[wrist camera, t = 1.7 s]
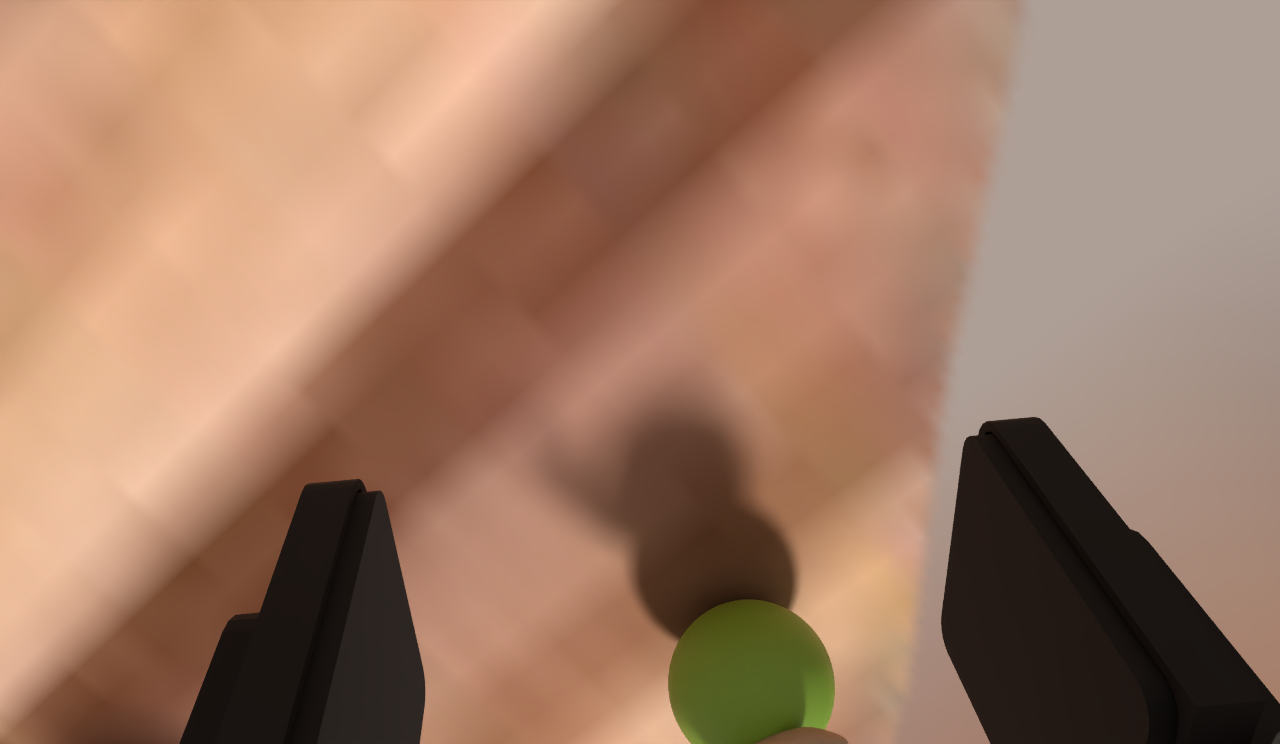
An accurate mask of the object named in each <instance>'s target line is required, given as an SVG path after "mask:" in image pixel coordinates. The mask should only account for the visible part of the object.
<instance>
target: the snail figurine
mask: <svg viewBox="0 0 1280 744" xmlns="http://www.w3.org/2000/svg"><path fill="white" fill-rule="evenodd" d="M668 690H669V698H670V703H671V707H672V711H673V714H674V716H675V719H676V721H677V723H678V725H679V727H680V729H681V730H682V732H683V734H684V735H685V737H686V738H687V739H688V740H689V742H690V743H691V744H848V741H847V740H846V739H845V738H844V737H842V736H840V735H838V734H836V733H833V732H830V731H827V730H825V728H826V726H827V724H828V722H829V719H830V716H831V713H832V709H833V704H834V696H835V682H834V674H833V669H832V665H831V661H830V658H829V656H828V653H827V651H826V649H825V647H824V645H823V643H822V641H821V640H820V638H819V637H818V635H817V634H816V633H815V632H814V630H813V629H812V628H811V627H810V626H809V625H808V624H807V623H806V622H805V621H804V620H803V619H802V618H800V617H799V616H798V615H796V614H795V613H793V612H792V611H790V610H788V609H786V608H784V607H782V606H780V605H777V604H774V603H771V602H767V601H762V600H754V599H744V600H736V601H731V602H727V603H724V604H721V605H718V606H716V607H714V608H712V609H710V610H708V611H707V612H705V613H704V614H702V615H701V616H700V617H698V618H697V619H696V620H695V621H694V622H693V623H692V624H691V625H690V626H689V627H688V629H687V630H686V631H685V632H684V634H683V635H682V637H681V638H680V640H679V642H678V644H677V646H676V648H675V651H674V653H673V656H672V660H671V664H670V669H669V677H668Z"/></svg>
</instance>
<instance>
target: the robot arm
mask: <svg viewBox="0 0 1280 744" xmlns="http://www.w3.org/2000/svg"><path fill="white" fill-rule="evenodd" d="M941 625H942V634H943V640H944V643H945V647H946V649H947V652H948V654H949V656H950V658H951V661H952V663H953V665H954V667H955V669H956V671H957V673H958V675H959V678H960V680H961V682H962V684H963V686H964V688H965V690H966V693H967V694H968V697H969V699H970V701H971V703H972V705H973V707H974V709H975V712H976V714H977V716H978V718H979V720H980V722H981V724H982V727H983V729H984V731H985V733H986V735H987V737H988V739H989V741H990V743H991V744H1280V704H1279V702H1278V701H1277V700H1276V699H1275V698H1274V696H1273V695H1272V694H1271V693H1270V691H1269V690H1268V689H1267V688H1266V686H1265V685H1264V684H1263V683H1262V682H1261V680H1260V679H1259V678H1258V676H1257V675H1256V674H1255V673H1254V672H1253V670H1252V669H1251V668H1250V667H1249V665H1248V664H1247V663H1246V662H1245V660H1244V659H1243V658H1242V657H1241V656H1240V654H1239V653H1238V652H1237V651H1236V649H1235V648H1234V647H1233V646H1232V644H1231V643H1230V642H1229V641H1228V639H1226V637H1225V636H1224V635H1223V633H1222V632H1221V631H1220V630H1219V628H1218V627H1217V626H1216V625H1215V623H1214V622H1213V621H1212V620H1211V619H1210V617H1209V616H1208V615H1207V614H1206V612H1205V611H1204V610H1203V609H1202V607H1201V606H1200V605H1199V604H1198V602H1197V601H1196V600H1195V599H1194V597H1193V596H1192V595H1191V594H1190V593H1189V591H1188V590H1187V589H1186V588H1185V586H1184V585H1183V584H1182V583H1181V581H1180V580H1179V579H1178V578H1177V577H1176V575H1175V574H1174V573H1173V572H1172V570H1171V569H1170V568H1169V567H1168V565H1166V563H1165V562H1164V560H1163V559H1162V558H1161V557H1160V556H1159V554H1158V553H1157V552H1156V551H1155V549H1154V548H1153V547H1152V546H1151V545H1150V543H1149V542H1148V541H1147V540H1146V539H1145V538H1144V537H1143V536H1142V535H1141V534H1140V533H1138V532H1136V531H1134V530H1131V529H1129V527H1128V526H1127V525H1126V524H1125V522H1124V521H1123V520H1122V519H1121V517H1120V516H1119V515H1118V514H1117V512H1116V511H1115V510H1114V509H1113V507H1112V506H1111V505H1110V504H1109V502H1108V501H1107V500H1106V499H1105V497H1104V496H1103V495H1102V494H1101V492H1100V491H1099V490H1098V489H1097V487H1096V486H1095V485H1094V484H1093V482H1092V481H1091V480H1090V479H1089V477H1088V476H1087V475H1086V474H1085V472H1084V471H1083V470H1082V469H1081V467H1080V466H1079V465H1078V464H1077V462H1076V461H1075V460H1074V459H1073V457H1072V456H1071V455H1070V454H1069V452H1068V451H1067V450H1066V449H1065V447H1064V446H1063V445H1062V444H1061V442H1060V441H1059V440H1058V439H1057V437H1056V436H1055V435H1054V434H1053V432H1052V431H1051V430H1050V429H1049V427H1048V426H1047V425H1046V423H1044V422H1043V421H1042V420H1041V419H1040V418H1036V417H1030V418H1018V419H1008V420H997V421H987V422H985V423H983V424H982V426H981V428H980V430H979V434H978V435H977V436H969V437H968V438H966V440H965V442H964V447H963V452H962V459H961V467H960V475H959V483H958V491H957V499H956V507H955V514H954V522H953V531H952V538H951V546H950V554H949V561H948V569H947V577H946V585H945V593H944V600H943V609H942V617H941ZM424 706H425V678H424V671H423V666H422V661H421V657H420V652H419V648H418V643H417V639H416V635H415V630H414V626H413V621H412V617H411V612H410V608H409V603H408V599H407V594H406V590H405V586H404V581H403V577H402V572H401V568H400V563H399V559H398V554H397V550H396V546H395V541H394V537H393V532H392V528H391V523H390V519H389V514H388V510H387V506H386V501H385V498H384V495H383V493H382V492H381V491H371V492H366V488H365V486H364V484H363V482H362V481H361V480H360V479H354V480H343V481H332V482H321V483H310V484H307V485H305V487H304V489H303V491H302V493H301V496H300V499H299V502H298V504H297V507H296V510H295V513H294V516H293V519H292V522H291V524H290V527H289V530H288V533H287V536H286V539H285V542H284V545H283V547H282V550H281V553H280V556H279V559H278V562H277V565H276V567H275V570H274V573H273V576H272V579H271V582H270V585H269V588H268V590H267V593H266V596H265V599H264V602H263V605H262V608H261V610H260V613H251V614H240V615H235V616H234V617H232V618H231V619H230V620H229V621H228V623H227V625H226V627H225V628H224V630H223V632H222V635H221V637H220V640H219V642H218V645H217V648H216V650H215V653H214V655H213V658H212V661H211V663H210V666H209V668H208V671H207V674H206V676H205V679H204V681H203V684H202V687H201V689H200V692H199V694H198V697H197V700H196V702H195V705H194V707H193V710H192V713H191V715H190V718H189V720H188V723H187V726H186V728H185V731H184V733H183V736H182V739H181V741H180V744H420V736H421V729H422V721H423V714H424Z"/></svg>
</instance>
